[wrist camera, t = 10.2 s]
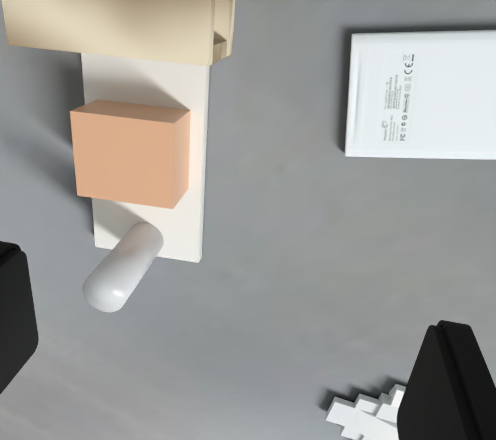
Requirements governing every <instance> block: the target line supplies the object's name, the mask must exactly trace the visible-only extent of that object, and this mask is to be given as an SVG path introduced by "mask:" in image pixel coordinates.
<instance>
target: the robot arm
mask: <svg viewBox="0 0 496 440" xmlns="http://www.w3.org/2000/svg"><path fill="white" fill-rule="evenodd" d="M37 345H38V331H37V324H36V317H35V310H34V304H33V297H32V290H31V283H30V276H29V270H28V263H27V257H26V254H25V253H24V252H23V251H21V249H20V247H19V246H18V245H17V244H13V243H8V242H2V241H0V394H1V393H2V392H3V390H4V389H5V388H6V387H7V385H8V384H9V383H10V382H11V380H12V379H13V378H14V377H15V376H16V374H17V373H18V372H19V371H20V369H21V368H22V367H23V366H24V364H25V363H26V362H27V361H28V359H29V358H30V357H31V356H32V355H33V353H34V352H35V350H36V348H37ZM397 431H398V438H399V440H496V387H495V385H494V382H493V380H492V378H491V375H490V373H489V370H488V368H487V365H486V363H485V360H484V358H483V355H482V353H481V351H480V348H479V346H478V343H477V341H476V338H475V336H474V333H473V331H472V329H471V327H470V326H469V325H466V324H461V323H455V322H450V321H444V320H441V321H439V323H438V324H437V326H434V325H430V326H429V327H428V329H427V332H426V335H425V337H424V340H423V343H422V346H421V348H420V351H419V354H418V356H417V359H416V362H415V365H414V367H413V370H412V373H411V376H410V378H409V381H408V384H407V387H406V389H405V392H404V395H403V397H402V400H401V403H400V406H399V408H398V412H397Z"/></svg>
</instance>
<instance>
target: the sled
mask: <svg viewBox="0 0 496 440" xmlns="http://www.w3.org/2000/svg"><path fill="white" fill-rule="evenodd" d="M81 59H82V72H83V86H84V99H85V105H83V106H80V107H78V108H76V109H73V110H71V111H70V118H71V130H72V141H73V152H74V164H75V175H76V186H77V196H83V197H91V198H92V207H93V221H94V235H95V247H100V248H106V249H112V250H111V251H110V253H109V254H108V255H107V256H106V257H105V258H104V259H103V261H102V262H101V263H100V264H99V265H98V266H97V267H96V268H95V270H94V271H93V272H92V273H91V274H90V275H89V276H88V278H87V279H86V280H85V281H84V283H83V288H82V290H83V294H84V297H85V299H86V300H87V302H88V303H89V304H90V305H91V306H93V307H94V308H96V309H98V310H100V311H104V312H114V311H117V310H119V309H120V308H121V307H122V306H123V305H124V303H125V302H126V300H127V299H128V297H129V296H130V294H131V293H132V291H133V290H134V288H135V287H136V286H137V284H138V283H139V281H140V280H141V278H142V277H143V275H144V274H145V272H146V271H147V269H148V268H149V266H150V265H151V263H152V262H153V261H154V259H155V258H156V256H158V257H165V258H171V259H178V260H184V261H191V262H197V263H199V261H200V259H201V257H202V233H203V209H204V185H205V162H206V138H207V114H208V90H209V66H200V65H190V64H181V63H172V62H162V61H153V60H144V59H134V58H125V57H116V56H106V55H97V54H88V53H81Z"/></svg>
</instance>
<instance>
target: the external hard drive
mask: <svg viewBox="0 0 496 440" xmlns="http://www.w3.org/2000/svg"><path fill="white" fill-rule="evenodd" d="M345 156H355V157H397V158H448V159H496V30H468V31H428V32H389V33H352V36H351V54H350V71H349V90H348V107H347V121H346V138H345Z"/></svg>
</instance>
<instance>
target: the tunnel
mask: <svg viewBox="0 0 496 440" xmlns="http://www.w3.org/2000/svg"><path fill="white" fill-rule="evenodd" d="M2 5H3V12H4V19H5V27H6V34H7V41H8V45H13V46H22V47H32V48H41V49H50V50H60V51H69V52H78V53H88V54H97V55H106V56H116V57H125V58H134V59H144V60H153V61H162V62H172V63H181V64H190V65H200V66H210V65H212V64H214V63H216V62H218V61H219V60H221V59H223V58H225V57H227V56H229V55H231V54H232V44H233V28H234V12H235V0H2Z"/></svg>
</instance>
